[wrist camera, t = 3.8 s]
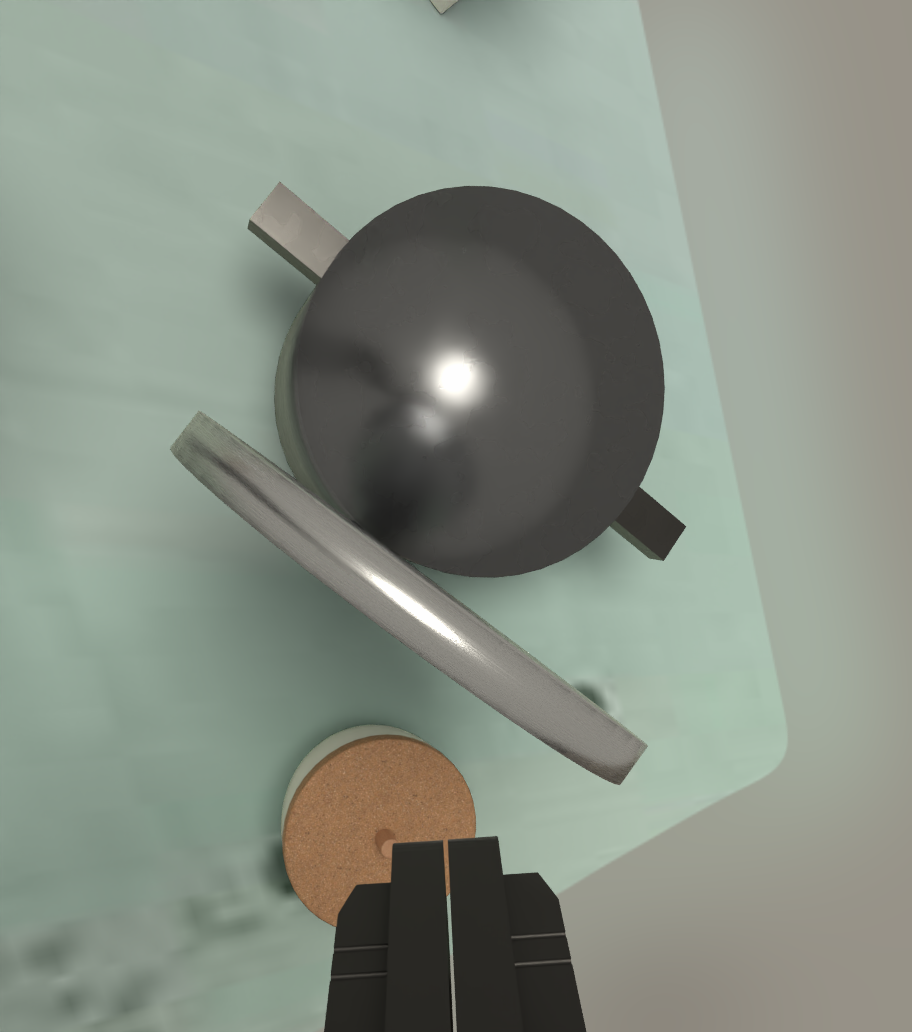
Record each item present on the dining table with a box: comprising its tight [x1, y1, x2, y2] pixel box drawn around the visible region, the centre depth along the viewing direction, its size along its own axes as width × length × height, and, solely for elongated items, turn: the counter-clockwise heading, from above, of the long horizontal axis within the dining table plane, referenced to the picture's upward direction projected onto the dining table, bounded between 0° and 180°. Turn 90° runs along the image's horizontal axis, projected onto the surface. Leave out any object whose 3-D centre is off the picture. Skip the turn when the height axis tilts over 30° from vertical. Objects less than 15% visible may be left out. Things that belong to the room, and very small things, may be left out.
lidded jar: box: [281, 725, 476, 927], centre depth 50 cm, size 11×11×9 cm
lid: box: [170, 411, 648, 785], centre depth 33 cm, size 20×20×3 cm
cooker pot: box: [248, 182, 686, 578], centre depth 50 cm, size 21×28×11 cm
